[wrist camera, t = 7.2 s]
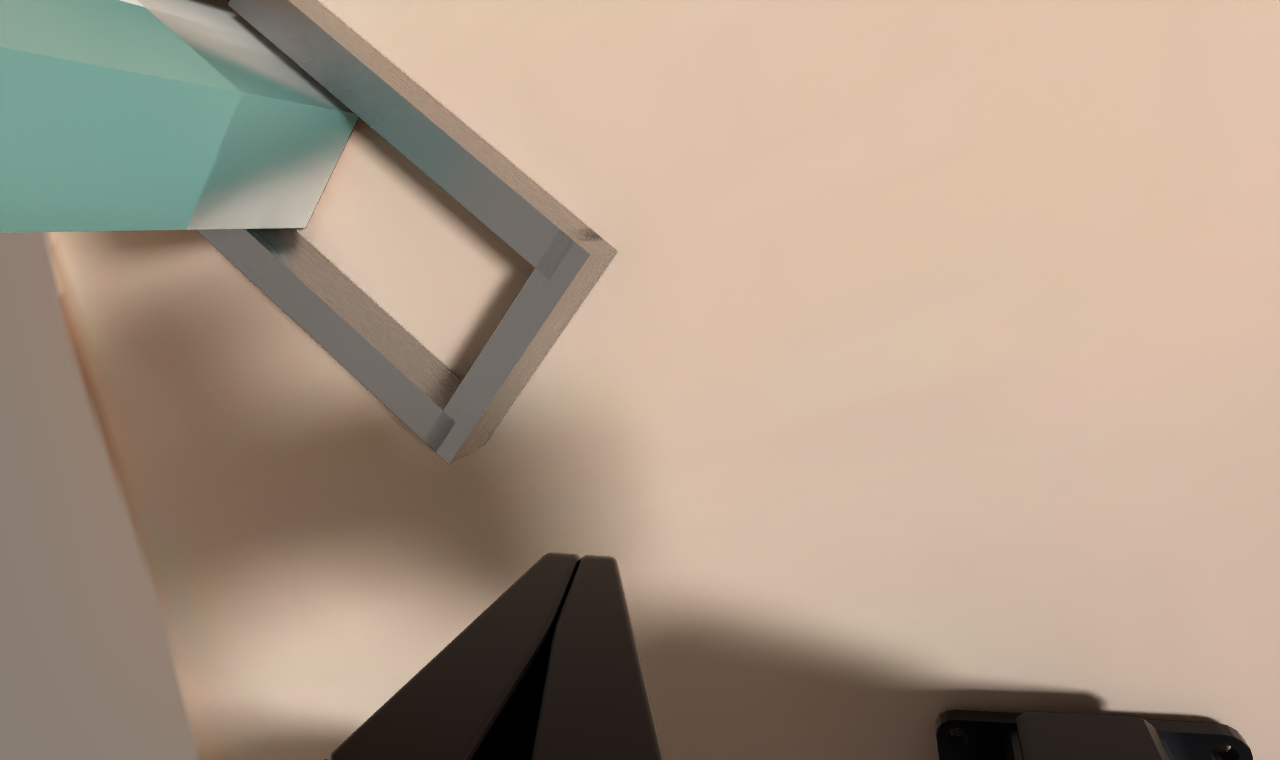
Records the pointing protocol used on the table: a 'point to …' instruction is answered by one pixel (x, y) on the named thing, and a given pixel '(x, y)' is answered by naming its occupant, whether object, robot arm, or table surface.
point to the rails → (475, 179)
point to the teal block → (157, 120)
